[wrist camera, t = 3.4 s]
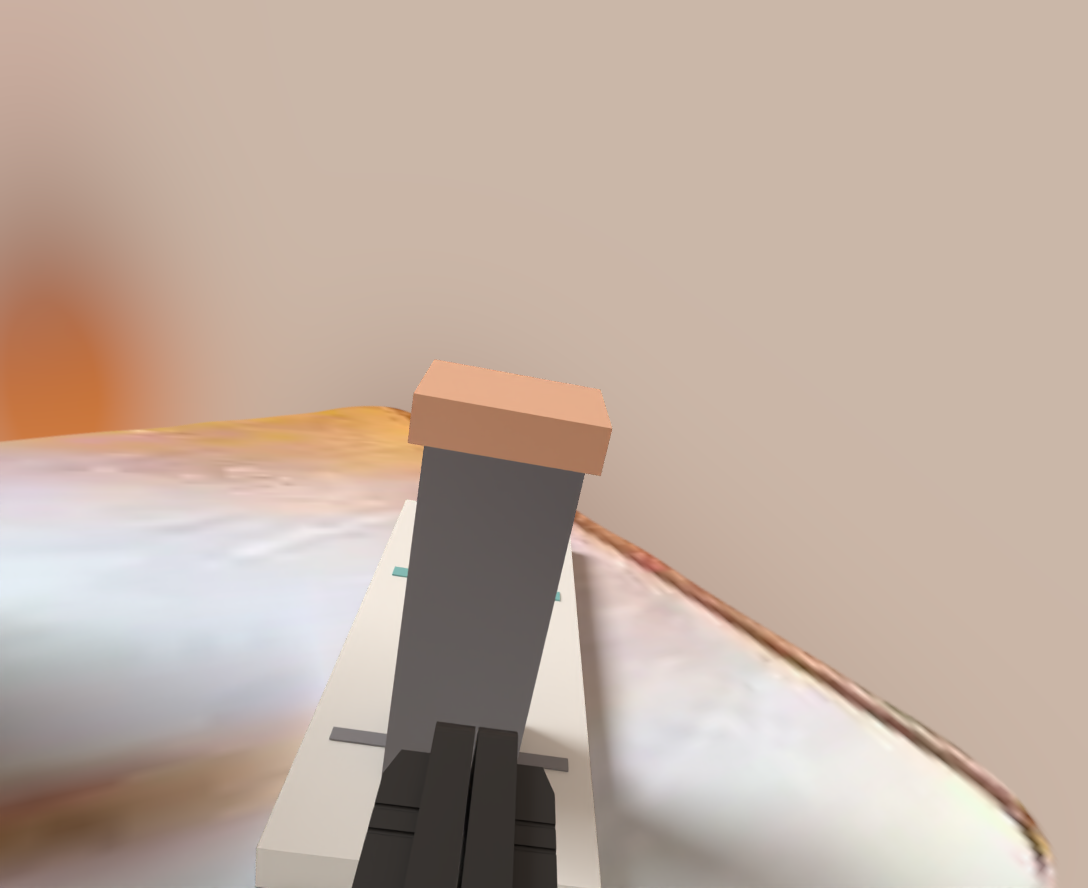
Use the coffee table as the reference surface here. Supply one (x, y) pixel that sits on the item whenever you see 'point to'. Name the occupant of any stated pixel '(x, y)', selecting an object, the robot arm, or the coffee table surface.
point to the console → (361, 729)
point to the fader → (487, 544)
